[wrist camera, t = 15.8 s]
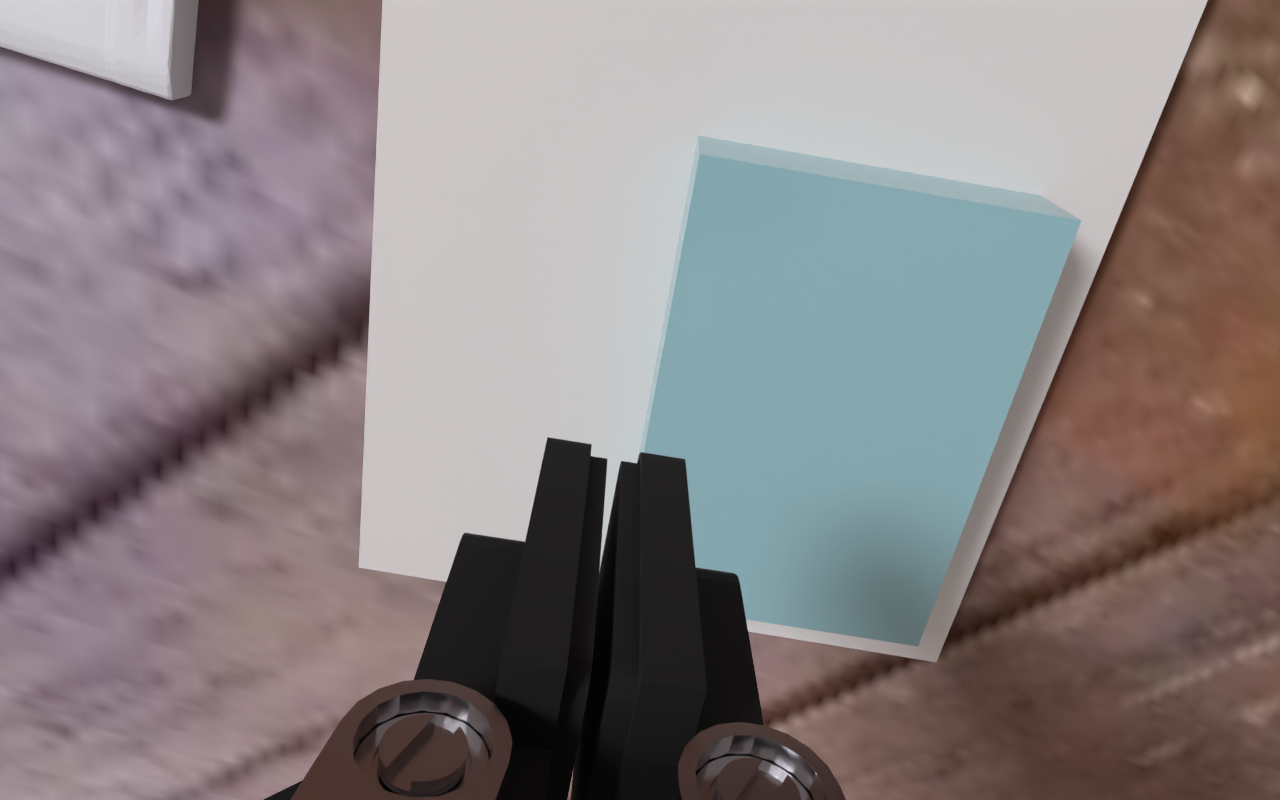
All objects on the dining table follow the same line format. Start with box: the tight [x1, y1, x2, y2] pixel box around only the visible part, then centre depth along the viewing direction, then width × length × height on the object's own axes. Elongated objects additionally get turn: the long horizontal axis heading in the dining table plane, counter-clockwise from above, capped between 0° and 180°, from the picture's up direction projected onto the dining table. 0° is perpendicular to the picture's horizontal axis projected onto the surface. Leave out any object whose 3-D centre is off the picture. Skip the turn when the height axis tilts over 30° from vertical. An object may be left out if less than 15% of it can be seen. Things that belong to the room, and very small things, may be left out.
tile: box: [637, 135, 1081, 646], centre depth 19 cm, size 10×2×7 cm
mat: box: [359, 0, 1208, 662], centre depth 19 cm, size 18×15×1 cm
